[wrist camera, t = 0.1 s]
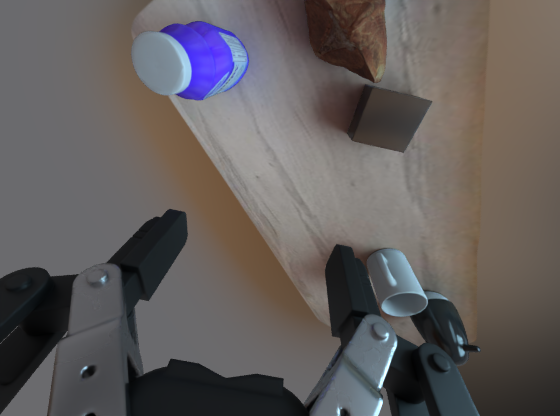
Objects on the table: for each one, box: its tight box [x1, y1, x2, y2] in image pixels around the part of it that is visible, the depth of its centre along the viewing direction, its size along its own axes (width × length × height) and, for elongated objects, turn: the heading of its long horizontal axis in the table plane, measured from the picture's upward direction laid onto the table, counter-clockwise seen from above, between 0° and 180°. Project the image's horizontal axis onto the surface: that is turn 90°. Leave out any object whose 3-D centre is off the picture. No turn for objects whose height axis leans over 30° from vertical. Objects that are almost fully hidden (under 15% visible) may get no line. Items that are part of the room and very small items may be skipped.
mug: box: [367, 249, 428, 317], centre depth 44 cm, size 12×8×11 cm
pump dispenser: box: [410, 291, 481, 366], centre depth 50 cm, size 10×10×15 cm
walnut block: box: [347, 85, 432, 153], centre depth 31 cm, size 7×8×4 cm
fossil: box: [304, 0, 387, 83], centre depth 24 cm, size 13×8×10 cm
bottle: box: [131, 21, 249, 100], centre depth 23 cm, size 7×6×17 cm
